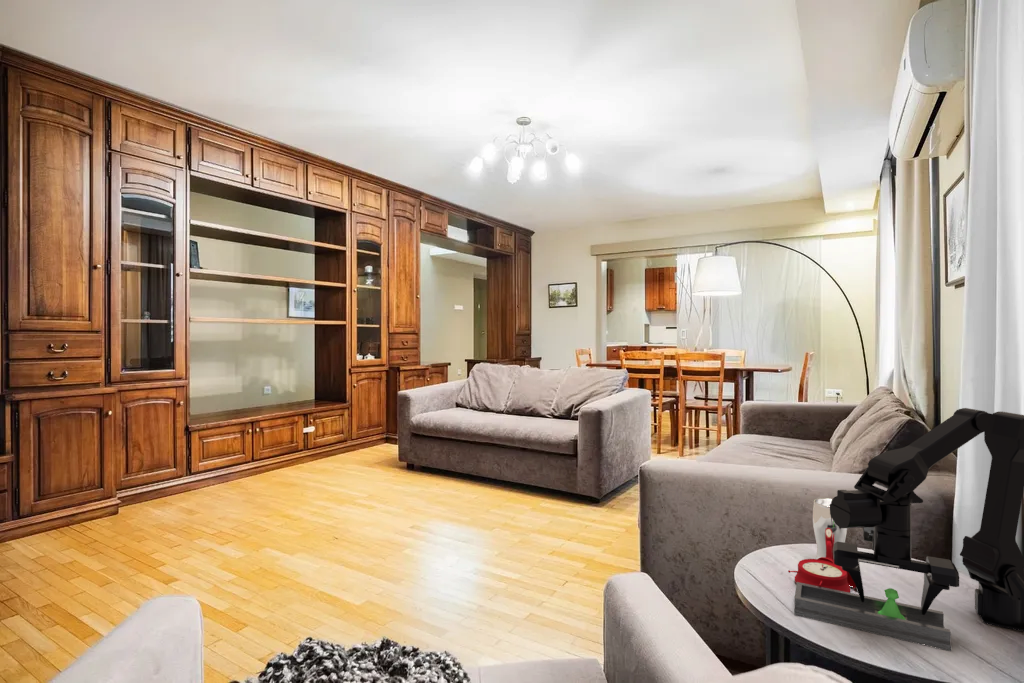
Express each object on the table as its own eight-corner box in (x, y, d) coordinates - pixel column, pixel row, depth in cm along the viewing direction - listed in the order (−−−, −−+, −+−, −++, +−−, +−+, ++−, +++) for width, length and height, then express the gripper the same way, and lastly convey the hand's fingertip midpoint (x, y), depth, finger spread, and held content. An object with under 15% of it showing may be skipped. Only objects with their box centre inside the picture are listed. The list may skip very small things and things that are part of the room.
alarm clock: (780, 565, 116) (823, 539, 122) (784, 592, 117) (827, 564, 123) (826, 586, 107) (870, 556, 113) (830, 614, 108) (874, 583, 114)
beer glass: (834, 575, 120) (833, 509, 119) (806, 562, 126) (805, 500, 126) (854, 568, 122) (854, 504, 122) (826, 557, 129) (825, 496, 128)
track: (941, 625, 99) (941, 609, 99) (951, 651, 91) (951, 634, 91) (796, 594, 112) (796, 580, 111) (794, 614, 104) (794, 599, 104)
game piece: (906, 618, 100) (906, 587, 100) (904, 628, 97) (904, 596, 96) (879, 610, 103) (879, 580, 102) (876, 620, 99) (876, 589, 99)
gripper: (947, 519, 101) (947, 600, 101) (833, 504, 111) (833, 578, 111) (960, 540, 91) (959, 629, 92) (833, 522, 101) (834, 602, 101)
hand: (892, 607), depth 99 cm, fingers open, 9 cm apart
